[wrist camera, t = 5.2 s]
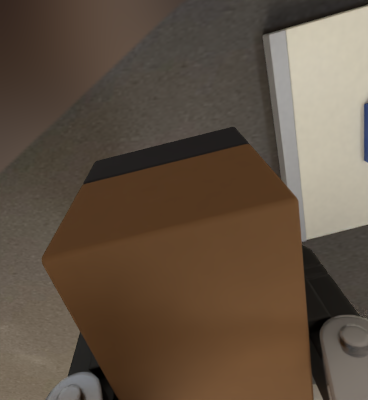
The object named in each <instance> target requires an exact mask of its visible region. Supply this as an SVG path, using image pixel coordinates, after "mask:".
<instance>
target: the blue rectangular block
mask: <svg viewBox="0 0 368 400" xmlns="http://www.w3.org/2000/svg"><path fill="white" fill-rule="evenodd" d="M364 161H366V162H367V163H368V103H366V104H364Z"/></svg>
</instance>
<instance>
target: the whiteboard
mask: <svg viewBox="0 0 368 400" xmlns="http://www.w3.org/2000/svg"><path fill="white" fill-rule="evenodd" d="M263 43H264V51H265V59H266V66H267V74H268V82H269V89H270V97H271V105H272V112H273V120H274V128H275V135H276V143H277V151H278V158H279V166H280V174H281V180H282V181H283V182H284V184H285V185H286V186H287V187H288V188H289V189H290V190H291V191H292V193H293V194H294V195H295V196H296V197H297V199H298V201H299V214H300V227H301V240H302V242H304V241H306V240H308V239H312V238H316V237H320V236H324V235H328V234H332V233H336V232H340V231H344V230H348V229H352V228H356V227H360V226H364V225H368V163H367V162H366V161H364V104H366V103H368V5H364V6H361V7H358V8H354V9H351V10H347V11H344V12H340V13H337V14H333V15H330V16H326V17H323V18H320V19H316V20H313V21H309V22H306V23H302V24H299V25H295V26H292V27H288V28H285V29H282V30H279V31H275V32H271V33H268V34H264V35H263Z"/></svg>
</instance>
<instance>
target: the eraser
mask: <svg viewBox="0 0 368 400" xmlns="http://www.w3.org/2000/svg"><path fill="white" fill-rule="evenodd" d="M42 264H43V266H44V268H45V269H46V271H47V273H48V275H49V277H50V278H51V280H52V282H53V284H54V286H55V287H56V289H57V291H58V293H59V294H60V296H61V298H62V300H63V302H64V303H65V305H66V307H67V309H68V311H69V312H70V314H71V316H72V318H73V319H74V321H75V323H76V325H77V327H78V328H79V330H80V332H81V334H82V336H83V337H84V339H85V341H86V343H87V345H88V346H89V348H90V350H91V352H92V353H93V355H94V357H95V359H96V361H97V362H98V364H99V366H100V368H101V370H102V371H103V373H104V375H105V377H106V378H107V380H108V382H109V384H110V386H111V387H112V389H113V391H114V393H115V395H116V396H117V398H118V400H314V396H313V383H312V370H311V357H310V344H309V331H308V318H307V305H306V292H305V279H304V266H303V253H302V240H301V227H300V214H299V201H298V199H297V197H296V196H295V195H294V194H293V193H292V191H291V190H290V189H289V188H288V187H287V186H286V185H285V184H284V182H283V181H282V180H281V179H280V178H279V177H278V176H277V175H276V173H275V172H274V171H273V170H272V169H271V168H270V167H269V166H268V164H267V163H266V162H265V161H264V160H263V159H262V158H261V157H260V155H259V154H258V153H257V152H256V151H255V150H254V149H253V148H252V146H251V145H250V144H249V143H248V142H247V141H246V139H245V138H244V137H243V136H242V135H241V134H240V133H239V132H238V130H237V129H236V128H235V127H230V128H226V129H222V130H218V131H214V132H210V133H206V134H202V135H198V136H194V137H190V138H186V139H182V140H178V141H174V142H170V143H166V144H162V145H158V146H154V147H150V148H146V149H143V150H139V151H135V152H131V153H127V154H123V155H119V156H115V157H111V158H107V159H103V160H99V161H96V162H95V163H94V165H93V167H92V169H91V170H90V172H89V174H88V176H87V177H86V179H85V181H84V184H83V185H82V187H81V188H80V190H79V192H78V194H77V196H76V197H75V199H74V201H73V203H72V205H71V206H70V208H69V210H68V212H67V213H66V215H65V217H64V219H63V221H62V222H61V224H60V226H59V228H58V230H57V231H56V233H55V235H54V237H53V238H52V240H51V242H50V244H49V246H48V247H47V249H46V251H45V253H44V255H43V256H42Z"/></svg>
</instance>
